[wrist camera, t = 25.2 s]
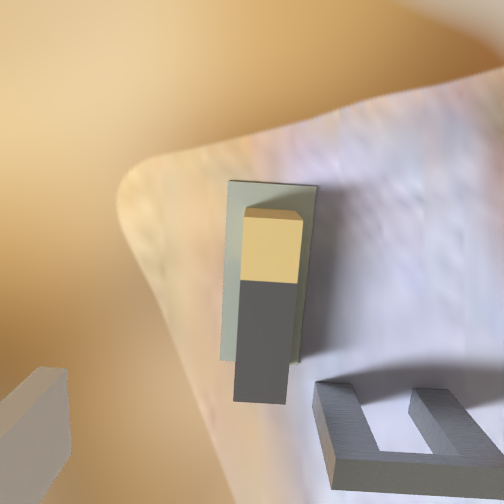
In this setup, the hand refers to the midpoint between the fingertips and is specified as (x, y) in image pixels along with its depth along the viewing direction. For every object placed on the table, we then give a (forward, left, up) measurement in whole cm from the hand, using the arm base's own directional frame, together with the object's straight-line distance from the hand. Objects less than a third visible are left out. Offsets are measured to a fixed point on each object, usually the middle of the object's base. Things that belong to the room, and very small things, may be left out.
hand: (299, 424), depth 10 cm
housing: (-16, -13, -25) cm, 32 cm away
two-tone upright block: (-5, 0, -24) cm, 25 cm away
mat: (-4, 0, -25) cm, 25 cm away
